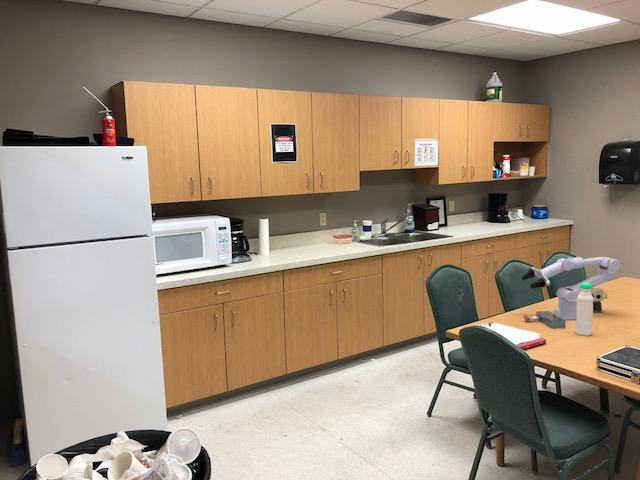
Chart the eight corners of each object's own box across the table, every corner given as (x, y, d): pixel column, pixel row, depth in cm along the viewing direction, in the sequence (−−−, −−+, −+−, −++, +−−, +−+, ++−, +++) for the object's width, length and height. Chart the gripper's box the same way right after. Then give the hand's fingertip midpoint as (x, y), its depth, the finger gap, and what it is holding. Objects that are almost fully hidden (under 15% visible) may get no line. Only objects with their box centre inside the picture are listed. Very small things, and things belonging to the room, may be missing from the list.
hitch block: (549, 318, 279) (549, 309, 278) (565, 328, 261) (565, 318, 261) (536, 318, 279) (536, 309, 278) (551, 328, 261) (552, 318, 260)
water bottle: (585, 337, 247) (587, 285, 244) (572, 333, 253) (574, 283, 250) (595, 334, 250) (597, 284, 247) (581, 330, 256) (583, 281, 253)
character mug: (583, 311, 290) (584, 289, 288) (585, 308, 296) (586, 286, 294) (605, 314, 284) (606, 291, 282) (607, 311, 289) (608, 288, 288)
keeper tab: (555, 314, 268) (555, 308, 267) (560, 317, 263) (560, 310, 263) (554, 314, 268) (554, 308, 267) (558, 317, 263) (558, 310, 263)
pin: (544, 319, 276) (544, 314, 275) (547, 321, 272) (547, 315, 272) (524, 320, 275) (524, 314, 275) (526, 322, 272) (526, 316, 272)
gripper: (540, 259, 279) (517, 270, 279) (557, 273, 267) (533, 285, 267) (541, 268, 283) (519, 279, 283) (558, 283, 271) (535, 294, 271)
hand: (526, 282), depth 275 cm, fingers open, 7 cm apart
